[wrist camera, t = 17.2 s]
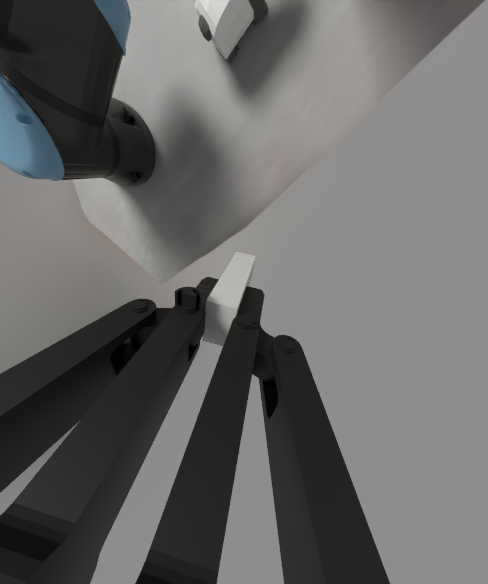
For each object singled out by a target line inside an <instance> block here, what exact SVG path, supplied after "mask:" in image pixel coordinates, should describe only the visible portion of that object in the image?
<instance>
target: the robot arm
mask: <svg viewBox="0 0 488 584" xmlns="http://www.w3.org/2000/svg"><path fill="white" fill-rule="evenodd" d="M130 21H131V17H130V10H129V6H128V3H127V1H126V0H0V162H1V163H2V164H4V165H5V166H6V167H8V168H9V169H11V170H13V171H15V172H16V173H18V174H20V175H23V176H25V177H29V178H33V179H50V180H54V181H57V180H70V179H88V178H105V179H107V180H110V181H112V182H115V183H117V184H120V185H126V186H132V185H139V184H142V183H144V182H145V181H146V180H147V179H148V178H149V177H150V175H151V174H152V171H153V169H154V164H155V149H154V144H153V140H152V137H151V134H150V132H149V129H148V127H147V126H146V124H145V122H144V121H143V119H142V118H141V117H140V115H139V114H138V113H137V112H136V111H135V110H134V109H133V108H132V107H130V106H129V105H127V104H126V103H124V102H122V101H119V100H117V99H115V98H112V94H113V90H114V86H115V83H116V79H117V75H118V72H119V68H120V64H121V60H122V57H123V56H125V54H126V48H125V45H126V41H127V36H128V32H129V27H130ZM255 258H256V256H253V255H249V254H245V253H241V252H236V253H235V255H234V256H233V258H232V260H231V261H230V263H229V264H228V266H227V268H226V270H225V271H224V272H223V274H222V276H221V277H220V279H219V280H218V279H214V278H211V277H207V278H205V279H203V280H202V281H201V282H200V283H199V285H198V286H197V287H196V288H194V287H182V288H179V289H177V290H176V291H175V306H174V307H173V308H156V304H155V303H154V302H153V301H152V300H148V299H136V300H133V301H131V302H128V303H127V304H125V305H123V306H121V307H119V308H118V309H116V310H114V311H112V312H110V313H109V314H107V315H105V316H104V317H102V318H100V319H98V320H96V321H94V322H93V323H91V324H89V325H87V326H85V327H84V328H82V329H80V330H78V331H76V332H75V333H73V334H71V335H69V336H67V337H66V338H64V339H62V340H60V341H58V342H57V343H55V344H53V345H51V346H50V347H48V348H46V349H44V350H42V351H40V352H39V353H37V354H35V355H33V356H32V357H30V358H28V359H26V360H25V361H23V362H21V363H19V364H17V365H16V366H14V367H12V368H10V369H8V370H6V371H5V372H3V373H1V374H0V492H1V491H3V490H4V489H5V488H6V487H7V486H8V485H9V484H10V483H11V482H12V481H14V480H15V479H16V478H17V477H18V476H19V475H20V474H21V473H22V472H23V471H25V470H26V469H27V468H28V467H29V466H30V465H31V464H32V463H33V462H34V461H36V460H37V459H38V458H39V457H40V456H41V455H42V454H43V453H44V452H46V451H47V450H48V449H49V448H50V447H51V446H52V445H53V444H54V443H55V442H57V441H58V440H59V439H60V438H61V437H62V436H63V435H64V434H65V433H67V432H68V431H69V430H70V429H71V428H72V427H73V426H74V425H75V424H76V423H78V422H79V421H80V422H79V423H78V424H77V425H76V427H75V428H74V429H73V430H72V431H71V433H70V434H69V435H68V436H67V437H66V439H65V440H64V441H63V442H62V444H61V445H60V446H59V447H58V449H57V450H56V451H55V452H54V453H53V454H52V456H51V457H50V458H49V459H48V461H47V462H46V463H45V464H44V466H43V467H42V468H41V469H40V470H39V472H38V473H37V474H36V475H35V476H34V478H33V479H32V480H31V481H30V483H29V484H28V485H27V486H26V487H25V489H24V490H23V491H22V492H21V493H20V495H19V496H18V497H17V498H16V500H15V501H14V502H13V503H12V504H11V505H10V506H9V508H8V509H7V510H6V511H5V512H4V513H3V514H2V515H0V584H90V582H91V580H92V577H93V574H94V571H95V569H96V566H97V562H98V558H99V554H100V552H101V549H102V546H103V544H104V542H105V540H106V538H107V536H108V534H109V532H110V530H111V528H112V526H113V523H114V521H115V519H116V517H117V515H118V513H119V511H120V509H121V507H122V505H123V503H124V501H125V499H126V497H127V495H128V493H129V490H130V488H131V486H132V484H133V482H134V480H135V478H136V476H137V474H138V472H139V470H140V468H141V466H142V464H143V462H144V460H145V457H146V456H147V454H148V452H149V450H150V448H151V445H152V443H153V441H154V439H155V437H156V435H157V433H158V431H159V429H160V427H161V425H162V423H163V421H164V419H165V417H166V415H167V413H168V411H169V409H170V407H171V405H172V402H173V400H174V398H175V396H176V394H177V392H178V390H179V388H180V386H181V384H182V382H183V380H184V378H185V376H186V374H187V372H188V370H189V367H190V366H191V364H192V361H193V359H194V357H195V355H196V353H197V351H198V349H199V345H200V340H201V337H202V336H203V341H206V342H210V343H214V344H218V345H221V346H223V348H222V351H221V354H220V357H219V360H218V362H217V365H216V368H215V371H214V373H213V376H212V379H211V382H210V384H209V387H208V390H207V393H206V395H205V398H204V401H203V404H202V407H201V409H200V412H199V415H198V417H197V420H196V423H195V426H194V429H193V432H192V434H191V437H190V440H189V442H188V445H187V448H186V451H185V453H184V456H183V459H182V462H181V465H180V467H179V470H178V473H177V476H176V478H175V481H174V484H173V487H172V489H171V492H170V495H169V498H168V500H167V503H166V506H165V509H164V512H163V514H162V517H161V520H160V522H159V525H158V528H157V531H156V534H155V537H154V539H153V542H152V545H151V548H150V550H149V553H148V555H147V558H146V561H145V563H144V566H143V568H142V570H141V573H140V575H139V577H138V579H137V582H136V583H135V584H216V583H217V577H218V571H219V565H220V559H221V553H222V547H223V541H224V536H225V530H226V524H227V517H228V512H229V506H230V500H231V494H232V488H233V483H234V477H235V471H236V464H237V459H238V453H239V447H240V440H241V436H242V430H243V424H244V418H245V412H246V406H247V400H248V394H249V388H250V382H251V377H252V374H253V375H255V376H256V377H258V378H259V383H260V391H261V399H262V407H263V415H264V423H265V431H266V439H267V448H268V456H269V463H270V472H271V480H272V487H273V496H274V504H275V512H276V520H277V529H278V536H279V544H280V553H281V561H282V568H283V576H284V584H390V582H389V580H388V577H387V574H386V572H385V569H384V567H383V564H382V561H381V559H380V556H379V553H378V550H377V548H376V545H375V542H374V540H373V537H372V534H371V532H370V529H369V526H368V523H367V521H366V518H365V515H364V513H363V510H362V507H361V505H360V502H359V500H358V497H357V494H356V491H355V489H354V486H353V483H352V481H351V478H350V475H349V473H348V470H347V467H346V465H345V462H344V459H343V456H342V454H341V451H340V448H339V446H338V443H337V440H336V438H335V435H334V432H333V430H332V427H331V425H330V422H329V419H328V416H327V414H326V411H325V408H324V406H323V403H322V400H321V397H320V395H319V392H318V390H317V387H316V384H315V381H314V379H313V376H312V373H311V371H310V368H309V366H308V363H307V360H306V357H305V355H304V352H303V349H302V347H301V345H300V344H299V342H298V341H296V340H295V339H294V338H292V337H290V336H286V335H279V336H277V337H275V338H274V337H272V336H270V335H269V334H267V333H266V332H265V331H264V330H263V329H262V328H261V326H260V317H261V311H262V305H263V300H264V294H263V291H262V290H260V289H256V288H252V287H249V283H250V280H251V275H252V271H253V267H254V262H255ZM126 340H127V341H126Z"/></svg>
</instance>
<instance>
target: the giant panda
mask: <svg viewBox="0 0 488 584" xmlns="http://www.w3.org/2000/svg"><path fill="white" fill-rule="evenodd" d="M195 9H196V11H197V13H198V15H199V23H198V24H199V27H200V30H201V32H202V34H203V36H204V38H205V39H206V40H207V41H208V42H209V41H210V40H212V41H213V43H214V44H215V46H216V47H217V48H218V50H219V51H220V52H221V54H222V55H223V56H224V58H225V59H226V60H227V61H228V62H231V61H232V60H233V59H234V57H235V56H236V54H237V52H238V50H239V48H238V45H237V43H238V41H239V40H240V38H241V37H242V35H243V34H244V32H245V31H246V29H247V28H248V26H249V25H250V23H251V22H252V20H253V22H254V23H256V24H258V23H259V22H260V21H261V20H262V18H263V17H264V15H265V14H266V12H267V10H268V8H267V4H266V2H265V1H264V0H196V5H195Z"/></svg>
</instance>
